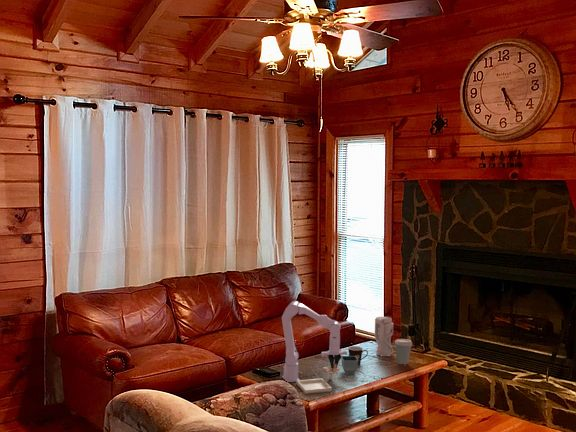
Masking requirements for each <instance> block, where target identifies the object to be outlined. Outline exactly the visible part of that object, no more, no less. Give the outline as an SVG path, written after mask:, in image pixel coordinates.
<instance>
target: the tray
mask: <svg viewBox="0 0 576 432" xmlns="http://www.w3.org/2000/svg"><path fill="white" fill-rule="evenodd" d="M296 386H297V387H298V388H299V389H300V390H301V391H302V392H303V393H304V394H305V395H308V394H318V393H330V392H331V393H332V392H333V387H332V386H331V385H330V384H329V383H328V382H326V381H325V379H323V377H322V378H320V377H319V378H313V379H311V378H310V379H300V380H297V381H296Z"/></svg>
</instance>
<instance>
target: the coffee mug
mask: <svg viewBox="0 0 576 432" xmlns="http://www.w3.org/2000/svg"><path fill="white" fill-rule="evenodd" d="M347 348H348V356H356V357H357V359H358V365H359V366H361V363H362V362H361V361H362V360H364V359H365V358H366V357H367V356H368V355H369V351H368V350H367V349H364V348H363V347H361V346H355V345H353V346H349V347H347ZM364 352H367V353H366V354H365V356H363V357H362V355H363V353H364Z"/></svg>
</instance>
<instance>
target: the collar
mask: <svg viewBox="0 0 576 432" xmlns="http://www.w3.org/2000/svg"><path fill="white" fill-rule="evenodd" d="M322 370H323V371H324V372H326V373H337V372H340V368H339V367H338V366H337V365H336V364H335V363H334V368H333V369H332V368H331V366H323V367H322Z"/></svg>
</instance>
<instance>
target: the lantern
mask: <svg viewBox="0 0 576 432" xmlns="http://www.w3.org/2000/svg"><path fill="white" fill-rule="evenodd" d="M374 319H375V320H374V338H375V341H376V344H377V345H378V346H377V347H376V349H375V352H376V355H377V354H378V355H382V356H387V355H391V354H394V351H395V350H394V349H393V345H392V343H391V342H392V341H391V340H392V336H393V335H394V323H393V318H392V317H388V316H377V317H375V318H374ZM378 355H377V356H378ZM382 356H381V357H382ZM391 356H392V355H391Z"/></svg>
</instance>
